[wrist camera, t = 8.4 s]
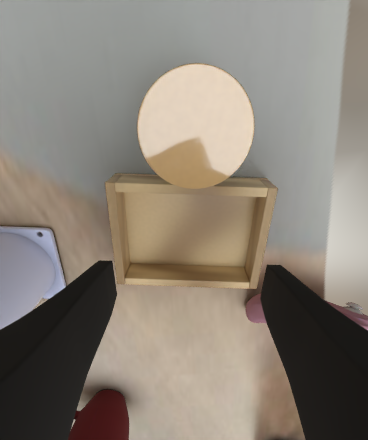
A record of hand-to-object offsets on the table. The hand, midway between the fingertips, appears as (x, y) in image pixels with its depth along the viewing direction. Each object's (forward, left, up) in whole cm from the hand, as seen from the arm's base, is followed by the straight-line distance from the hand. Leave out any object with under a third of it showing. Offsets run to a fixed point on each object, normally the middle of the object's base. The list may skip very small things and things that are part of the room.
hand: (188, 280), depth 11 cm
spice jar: (0, +6, -9) cm, 11 cm away
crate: (0, -2, -9) cm, 10 cm away
